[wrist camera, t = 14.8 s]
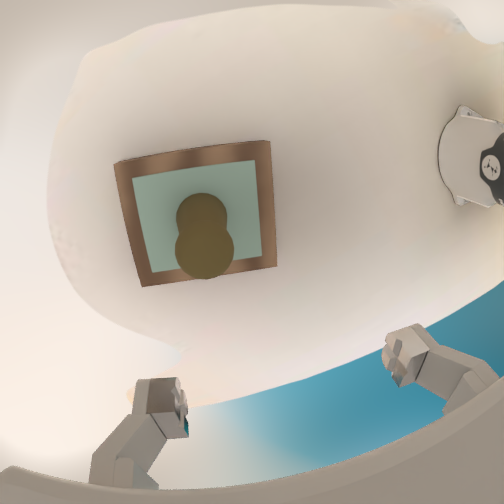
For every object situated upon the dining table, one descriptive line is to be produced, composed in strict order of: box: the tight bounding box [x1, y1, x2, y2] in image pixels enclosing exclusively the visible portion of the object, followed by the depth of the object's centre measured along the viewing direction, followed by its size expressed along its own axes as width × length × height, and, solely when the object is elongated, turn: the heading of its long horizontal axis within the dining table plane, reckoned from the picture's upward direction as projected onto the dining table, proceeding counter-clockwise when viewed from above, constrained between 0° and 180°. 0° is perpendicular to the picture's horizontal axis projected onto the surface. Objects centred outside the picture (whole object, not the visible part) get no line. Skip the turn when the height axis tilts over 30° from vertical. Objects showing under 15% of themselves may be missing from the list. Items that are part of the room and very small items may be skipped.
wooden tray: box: [114, 140, 277, 287], centre depth 35 cm, size 18×16×3 cm
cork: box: [175, 193, 234, 279], centre depth 29 cm, size 6×6×11 cm
